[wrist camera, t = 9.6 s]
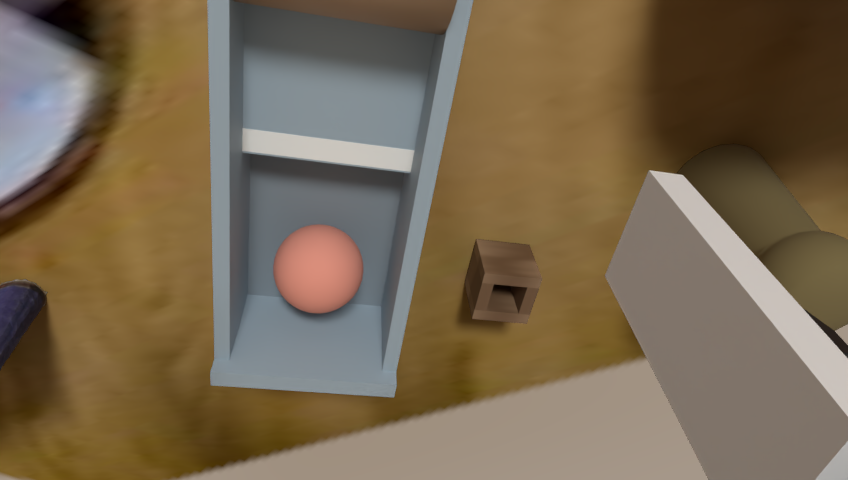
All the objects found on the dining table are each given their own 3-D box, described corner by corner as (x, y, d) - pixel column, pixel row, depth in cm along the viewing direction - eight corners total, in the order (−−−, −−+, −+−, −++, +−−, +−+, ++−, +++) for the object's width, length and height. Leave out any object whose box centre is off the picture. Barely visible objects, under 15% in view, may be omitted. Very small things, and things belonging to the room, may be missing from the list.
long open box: (482, -170, 25) (517, -173, 19) (391, 316, 40) (394, 404, 34) (238, -223, 24) (190, -245, 18) (235, 302, 38) (208, 392, 32)
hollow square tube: (529, 244, 38) (542, 279, 35) (515, 287, 39) (526, 323, 36) (476, 239, 37) (484, 273, 34) (464, 282, 39) (472, 319, 36)
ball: (357, 297, 37) (358, 332, 33) (275, 289, 37) (264, 324, 32) (367, 219, 36) (370, 244, 31) (281, 210, 35) (271, 234, 31)
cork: (703, 248, 39) (804, 375, 30) (646, 196, 36) (738, 317, 27) (786, 183, 36) (924, 299, 27) (731, 123, 34) (864, 228, 25)
